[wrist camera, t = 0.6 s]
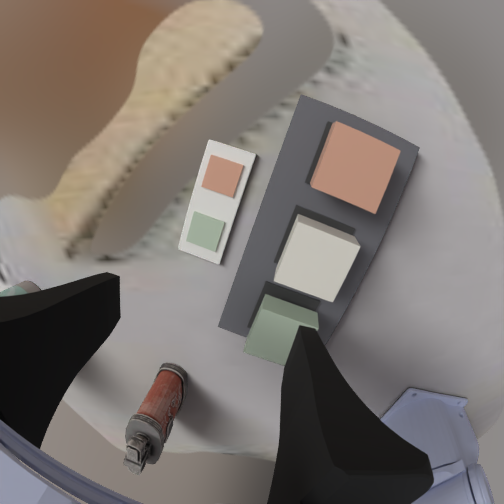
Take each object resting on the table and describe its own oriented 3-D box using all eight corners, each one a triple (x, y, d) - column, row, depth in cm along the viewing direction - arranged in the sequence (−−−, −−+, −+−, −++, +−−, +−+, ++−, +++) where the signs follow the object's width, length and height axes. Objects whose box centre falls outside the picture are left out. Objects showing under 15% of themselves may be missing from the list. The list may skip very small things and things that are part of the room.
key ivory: (354, 236, 17) (360, 246, 15) (329, 288, 18) (332, 302, 16) (297, 213, 17) (298, 221, 15) (276, 268, 18) (273, 281, 17)
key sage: (317, 312, 19) (318, 328, 17) (295, 352, 20) (294, 369, 19) (265, 293, 19) (262, 308, 17) (247, 335, 20) (243, 351, 19)
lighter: (181, 416, 29) (150, 488, 19) (152, 404, 29) (116, 473, 20) (192, 370, 26) (153, 456, 16) (158, 357, 26) (110, 436, 17)
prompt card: (256, 154, 19) (255, 154, 18) (220, 262, 22) (218, 265, 21) (210, 139, 19) (207, 139, 18) (179, 247, 22) (176, 249, 21)
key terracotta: (390, 149, 15) (400, 150, 13) (367, 207, 16) (375, 214, 14) (332, 123, 15) (336, 121, 13) (309, 182, 16) (311, 187, 15)
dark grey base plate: (412, 147, 17) (420, 147, 15) (315, 350, 23) (315, 361, 22) (300, 97, 17) (301, 93, 16) (221, 318, 23) (217, 327, 22)
